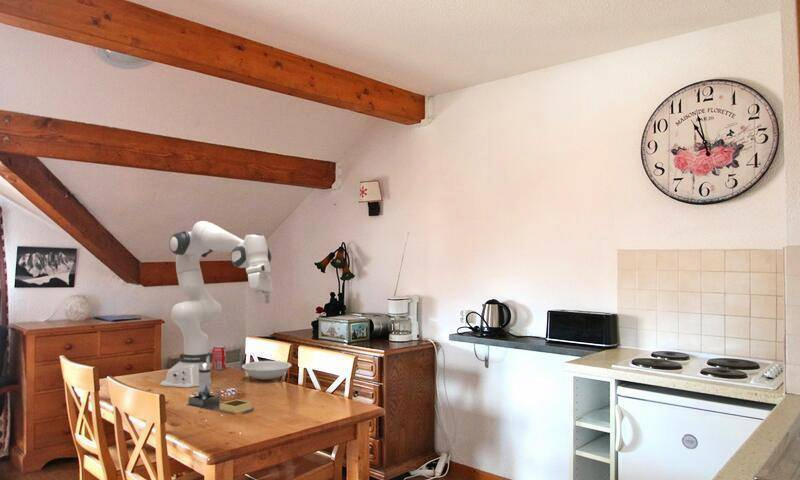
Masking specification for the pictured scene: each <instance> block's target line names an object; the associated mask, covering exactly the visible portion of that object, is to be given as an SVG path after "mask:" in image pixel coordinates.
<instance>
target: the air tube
mask: <svg viewBox="0 0 800 480" xmlns="http://www.w3.org/2000/svg"><path fill="white" fill-rule="evenodd" d="M211 366H212V362H211V361H209V362H202V363H199V386H198V391H197V392H198V399H202V400H204V399H208V398H210V394H211V383H210V378H211V371H212V370H211V369H212V367H211Z"/></svg>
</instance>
